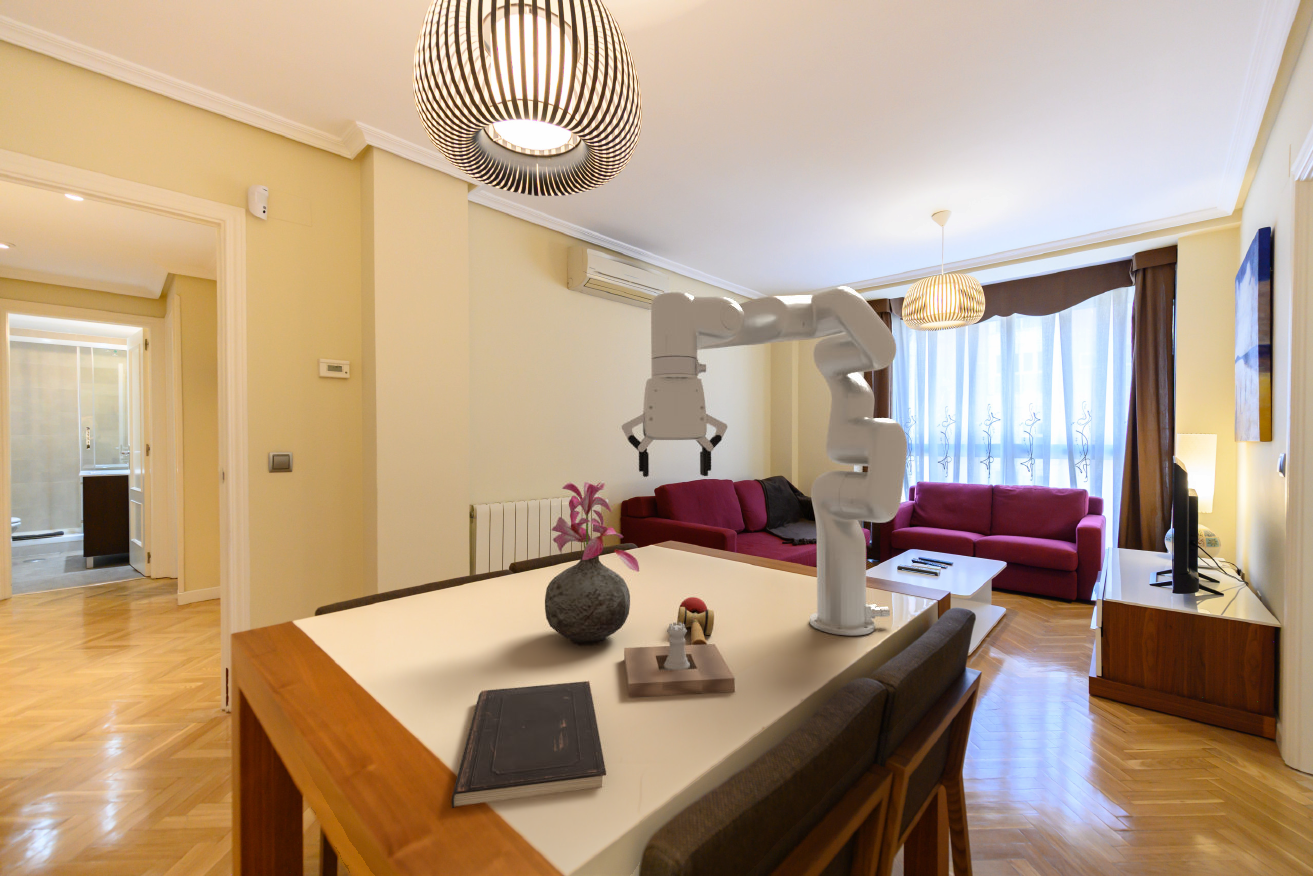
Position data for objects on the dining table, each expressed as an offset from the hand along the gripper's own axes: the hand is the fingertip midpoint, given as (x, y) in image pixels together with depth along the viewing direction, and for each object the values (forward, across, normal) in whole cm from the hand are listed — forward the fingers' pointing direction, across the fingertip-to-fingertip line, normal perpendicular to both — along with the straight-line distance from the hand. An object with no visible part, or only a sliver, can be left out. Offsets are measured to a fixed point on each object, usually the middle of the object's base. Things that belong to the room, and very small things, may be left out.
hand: (675, 475), depth 88 cm
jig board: (+32, 0, 0) cm, 32 cm away
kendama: (+33, -6, -16) cm, 37 cm away
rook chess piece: (+32, 0, 0) cm, 32 cm away
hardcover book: (+33, +21, +17) cm, 43 cm away
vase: (+32, +14, -18) cm, 40 cm away
